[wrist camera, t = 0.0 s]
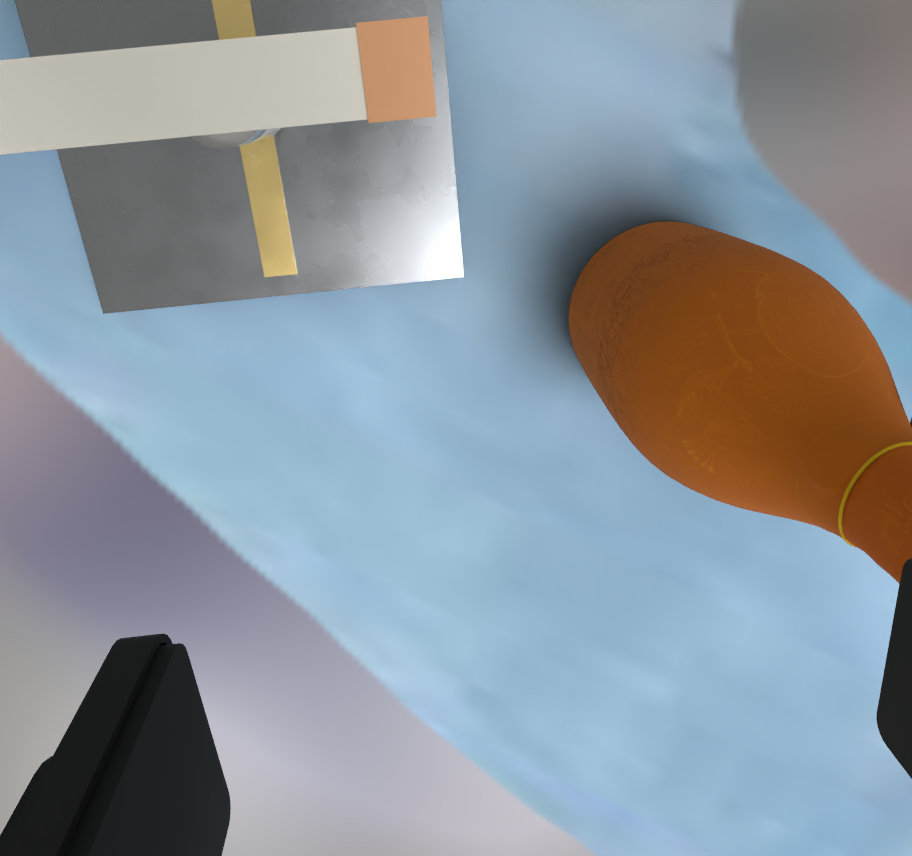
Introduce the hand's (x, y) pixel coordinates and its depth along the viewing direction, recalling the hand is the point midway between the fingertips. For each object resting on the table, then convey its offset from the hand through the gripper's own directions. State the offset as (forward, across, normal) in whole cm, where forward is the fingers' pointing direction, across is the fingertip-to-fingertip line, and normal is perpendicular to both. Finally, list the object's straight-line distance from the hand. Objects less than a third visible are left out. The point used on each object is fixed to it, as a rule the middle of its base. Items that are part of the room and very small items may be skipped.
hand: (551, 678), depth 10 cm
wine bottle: (+31, -11, +4) cm, 34 cm away
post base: (+31, +8, -8) cm, 33 cm away
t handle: (+23, +7, -8) cm, 25 cm away
